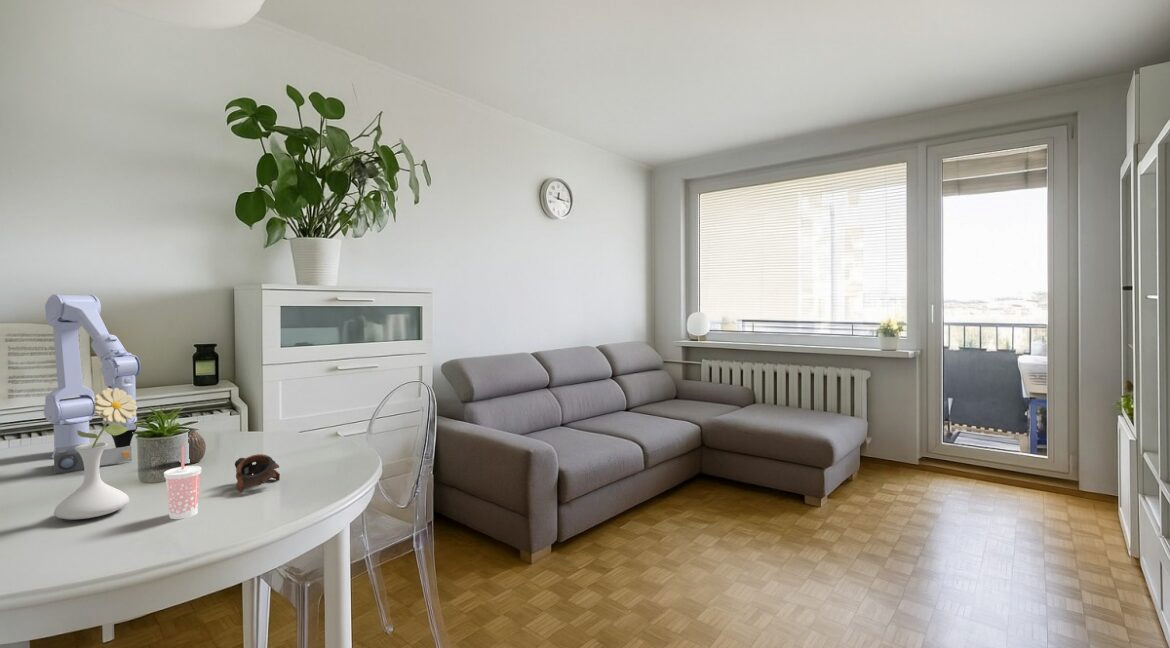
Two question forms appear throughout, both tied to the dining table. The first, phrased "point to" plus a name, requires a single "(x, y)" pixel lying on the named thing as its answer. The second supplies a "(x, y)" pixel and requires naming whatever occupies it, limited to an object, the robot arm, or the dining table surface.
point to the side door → (116, 455)
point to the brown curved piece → (255, 471)
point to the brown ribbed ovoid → (196, 446)
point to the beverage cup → (183, 489)
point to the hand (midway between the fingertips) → (123, 453)
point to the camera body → (67, 459)
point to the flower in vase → (94, 492)
